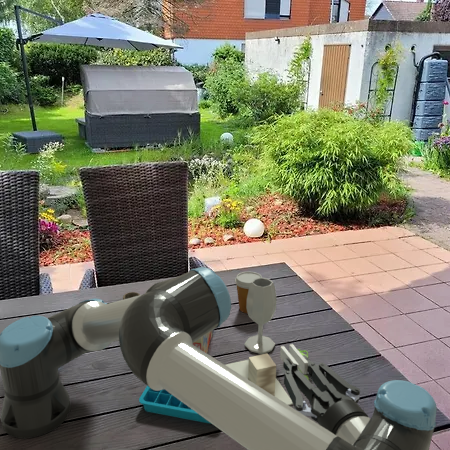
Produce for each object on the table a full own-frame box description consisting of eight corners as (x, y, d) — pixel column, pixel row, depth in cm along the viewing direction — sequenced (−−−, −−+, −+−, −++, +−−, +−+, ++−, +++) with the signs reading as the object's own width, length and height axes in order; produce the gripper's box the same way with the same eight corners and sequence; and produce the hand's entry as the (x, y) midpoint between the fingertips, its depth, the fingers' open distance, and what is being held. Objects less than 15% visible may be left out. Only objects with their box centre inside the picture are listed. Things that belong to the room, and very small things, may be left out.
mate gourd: (145, 311, 151) (144, 285, 147) (142, 323, 144) (140, 296, 140) (124, 311, 150) (122, 285, 147) (119, 324, 143) (117, 296, 140)
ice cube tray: (156, 381, 118) (155, 371, 117) (231, 394, 113) (231, 384, 112) (137, 412, 107) (137, 402, 106) (219, 428, 102) (219, 417, 101)
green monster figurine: (308, 381, 118) (310, 362, 116) (288, 377, 119) (289, 359, 118) (311, 367, 124) (313, 349, 122) (292, 363, 125) (293, 345, 123)
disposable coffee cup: (267, 306, 154) (268, 275, 150) (253, 319, 147) (254, 286, 143) (243, 299, 159) (244, 268, 155) (229, 310, 151) (229, 278, 147)
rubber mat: (240, 418, 105) (240, 416, 105) (214, 368, 123) (214, 367, 123) (293, 404, 110) (293, 402, 110) (261, 358, 127) (261, 356, 127)
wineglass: (280, 345, 133) (284, 281, 126) (262, 358, 127) (264, 292, 120) (257, 334, 138) (259, 272, 131) (239, 346, 132) (240, 282, 125)
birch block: (255, 407, 108) (256, 369, 104) (247, 394, 112) (248, 357, 109) (274, 403, 110) (276, 365, 106) (265, 389, 114) (267, 353, 110)
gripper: (311, 462, 72) (254, 373, 93) (386, 439, 76) (315, 359, 97) (315, 425, 69) (255, 342, 90) (392, 404, 74) (317, 329, 95)
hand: (286, 350), depth 94 cm, fingers closed
